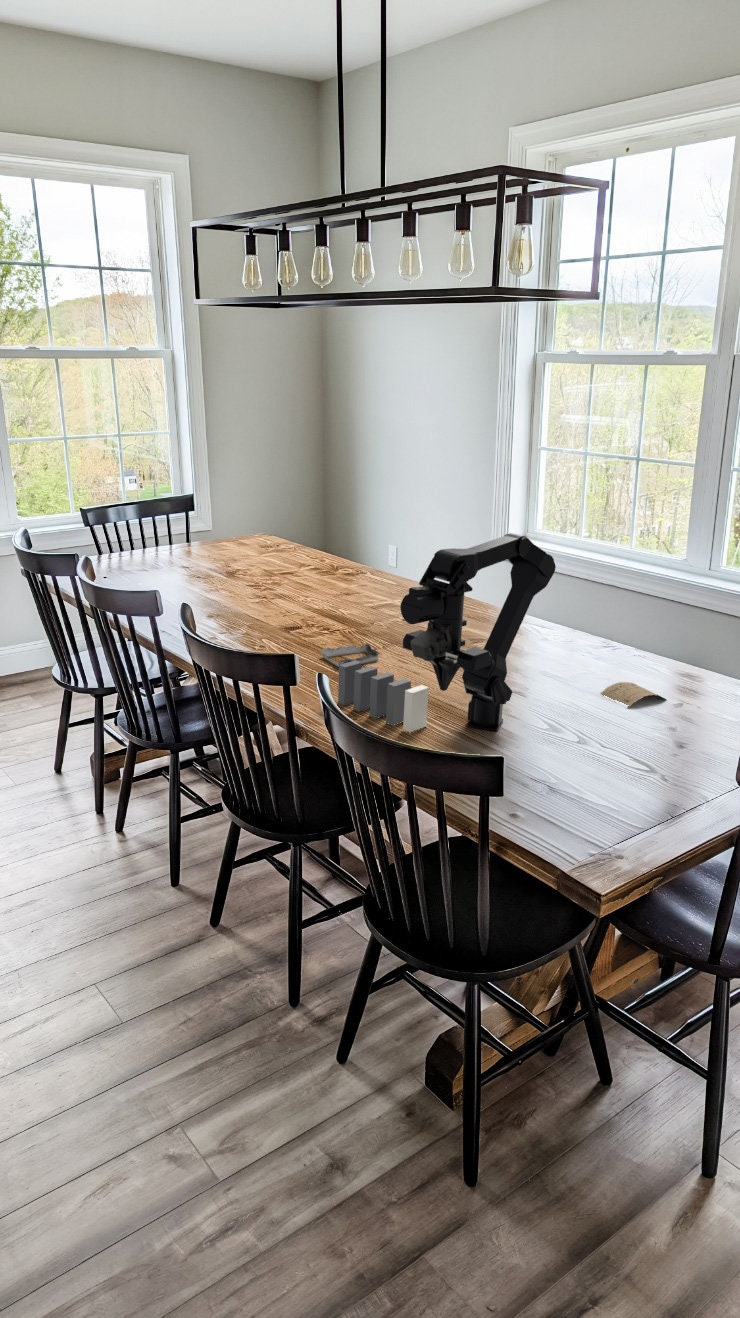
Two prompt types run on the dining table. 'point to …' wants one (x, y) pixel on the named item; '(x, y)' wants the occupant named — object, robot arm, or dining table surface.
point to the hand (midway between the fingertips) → (443, 690)
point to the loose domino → (415, 708)
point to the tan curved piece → (626, 692)
